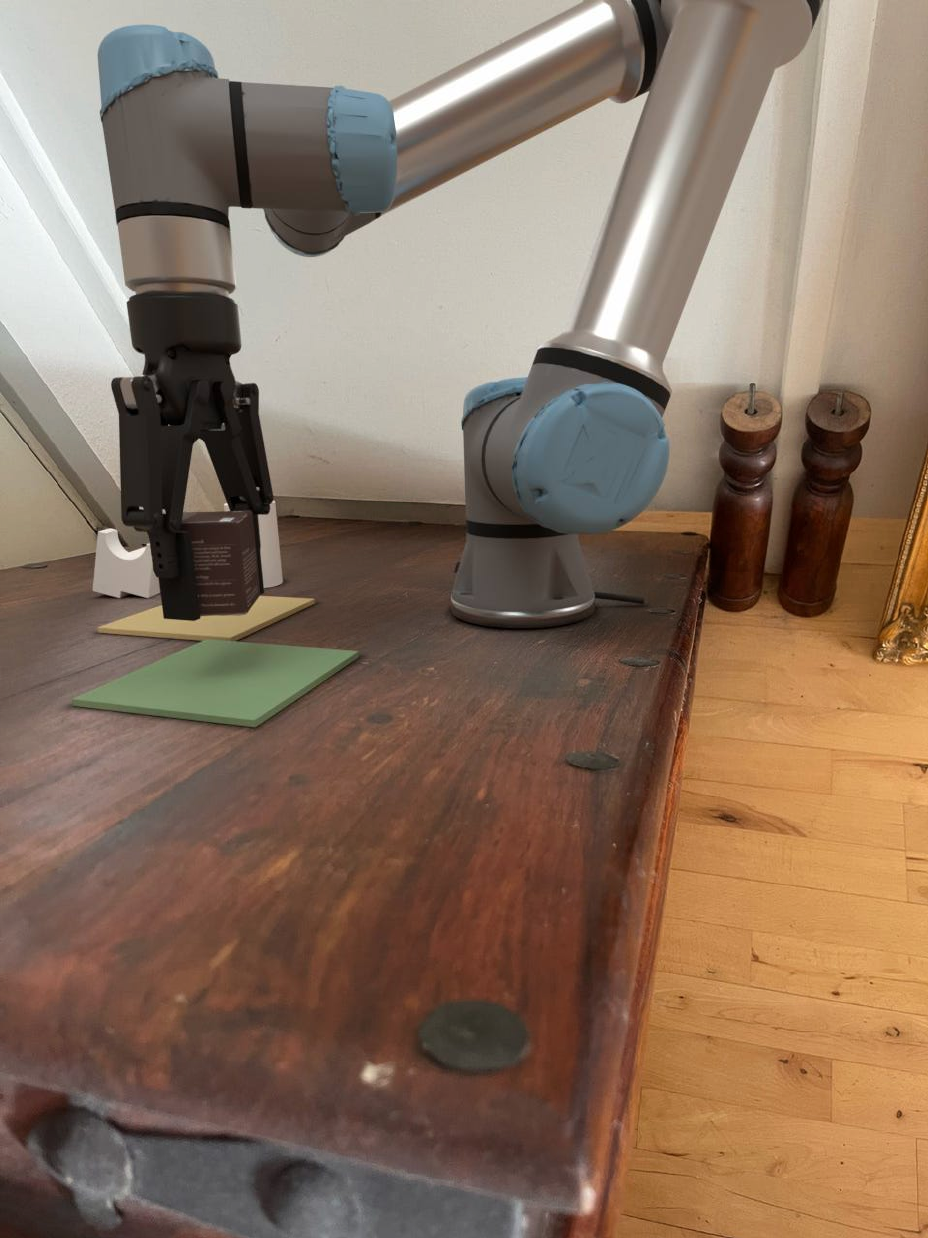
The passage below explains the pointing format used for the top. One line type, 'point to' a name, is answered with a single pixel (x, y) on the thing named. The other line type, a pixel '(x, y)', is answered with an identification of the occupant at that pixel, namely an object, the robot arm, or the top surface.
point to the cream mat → (209, 621)
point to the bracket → (123, 568)
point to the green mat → (220, 682)
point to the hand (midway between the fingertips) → (217, 604)
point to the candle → (269, 547)
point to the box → (224, 561)
